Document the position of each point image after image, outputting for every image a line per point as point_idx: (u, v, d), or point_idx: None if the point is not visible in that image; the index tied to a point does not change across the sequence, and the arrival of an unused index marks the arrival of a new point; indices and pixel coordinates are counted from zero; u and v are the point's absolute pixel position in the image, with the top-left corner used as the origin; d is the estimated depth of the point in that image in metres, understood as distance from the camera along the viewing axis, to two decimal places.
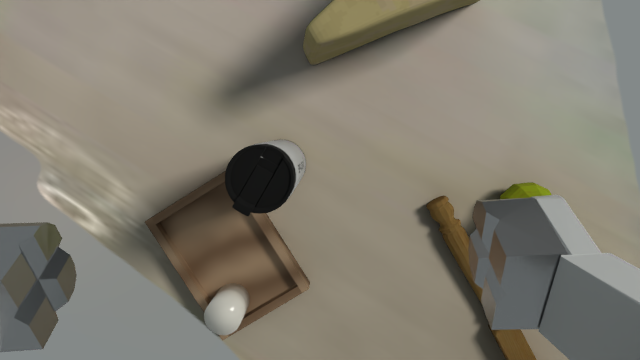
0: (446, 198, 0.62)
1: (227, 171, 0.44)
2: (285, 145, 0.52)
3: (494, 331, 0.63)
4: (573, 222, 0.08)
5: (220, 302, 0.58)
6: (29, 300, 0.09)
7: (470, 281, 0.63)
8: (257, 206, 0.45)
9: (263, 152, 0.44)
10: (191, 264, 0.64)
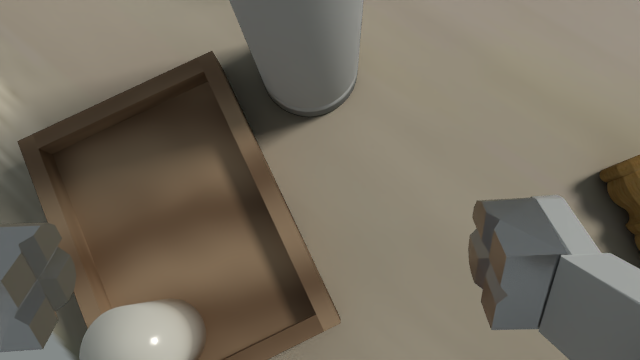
0: None
1: None
2: None
3: None
4: (573, 223, 0.08)
5: (126, 314, 0.24)
6: (29, 300, 0.09)
7: None
8: None
9: None
10: (96, 248, 0.30)
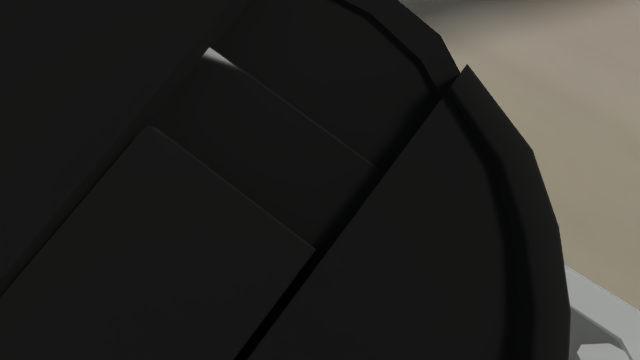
0: None
1: None
2: None
3: None
4: None
5: None
6: None
7: None
8: None
9: (237, 5, 0.04)
10: None
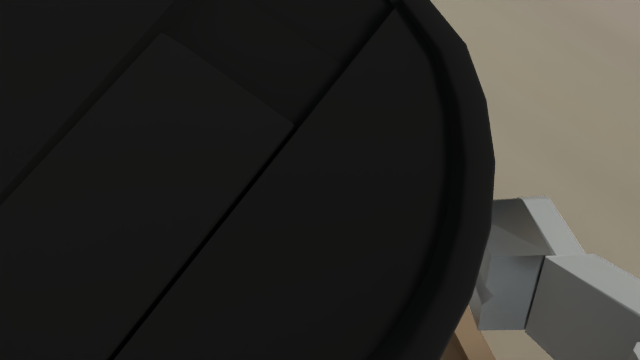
0: None
1: None
2: None
3: None
4: (559, 223, 0.08)
5: None
6: None
7: None
8: None
9: None
10: None
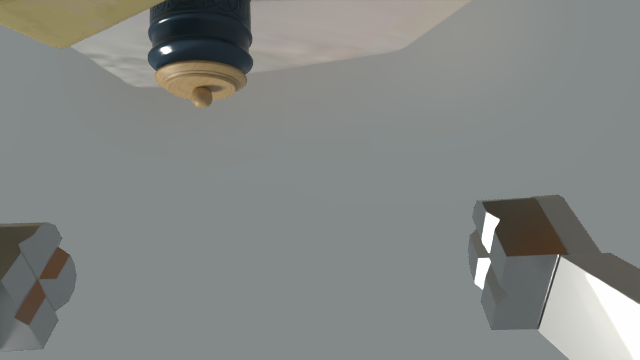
0: None
1: None
2: None
3: None
4: (573, 223, 0.08)
5: None
6: (29, 300, 0.09)
7: None
8: None
9: None
10: None
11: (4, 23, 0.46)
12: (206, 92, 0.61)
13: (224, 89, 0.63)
